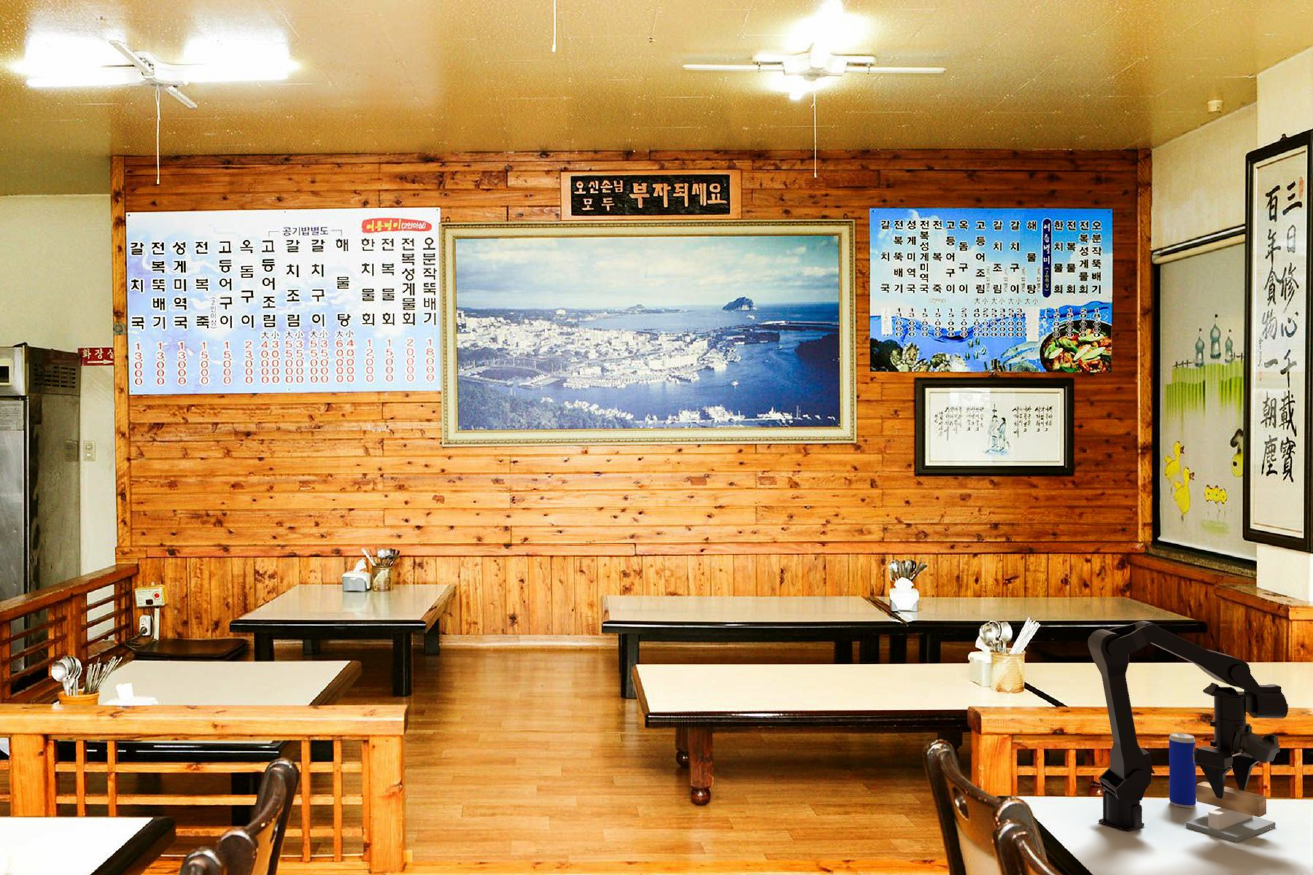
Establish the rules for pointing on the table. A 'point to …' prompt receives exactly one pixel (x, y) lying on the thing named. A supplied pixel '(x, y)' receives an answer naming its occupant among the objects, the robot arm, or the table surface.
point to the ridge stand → (1230, 824)
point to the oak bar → (1232, 800)
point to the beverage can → (1182, 770)
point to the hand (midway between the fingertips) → (1230, 794)
